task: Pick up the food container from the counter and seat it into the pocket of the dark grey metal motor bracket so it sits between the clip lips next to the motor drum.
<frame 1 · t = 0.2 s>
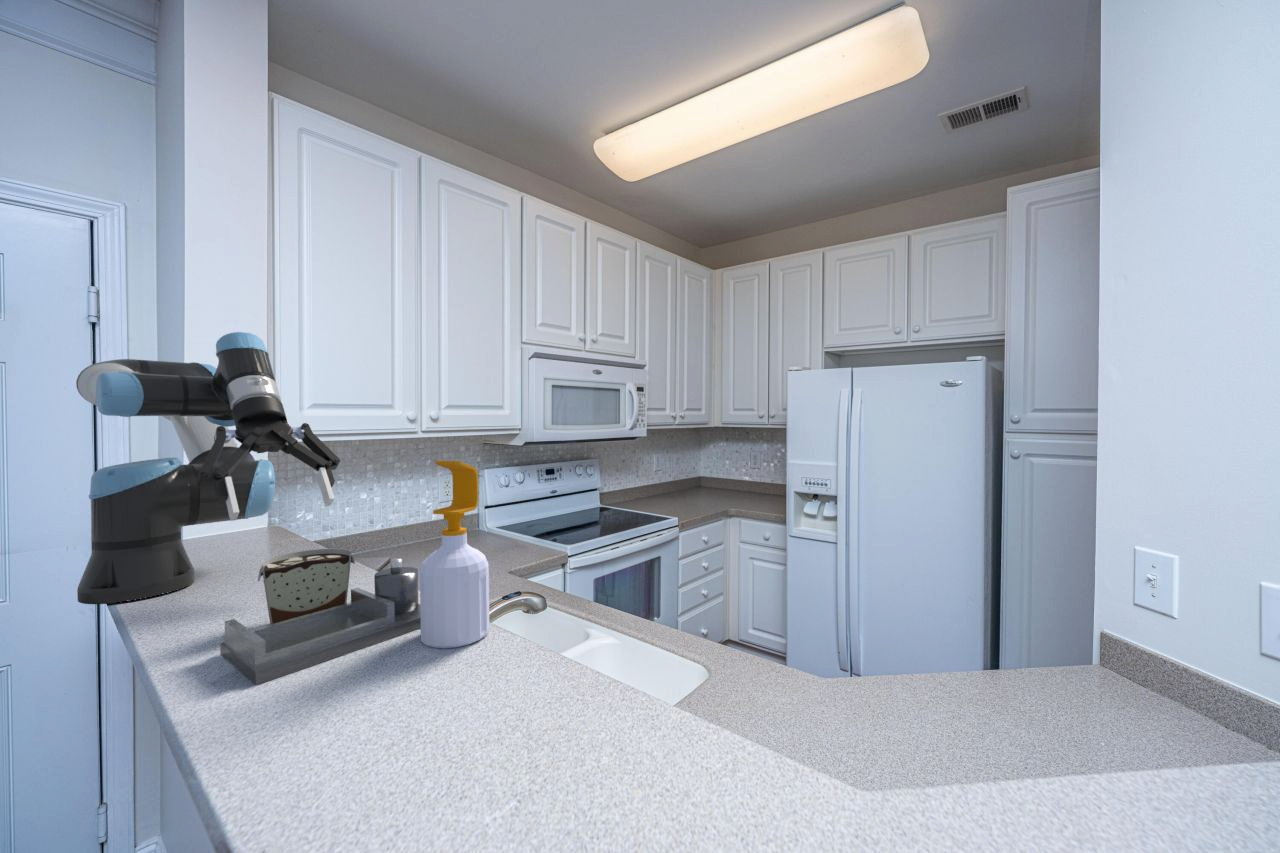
hand: (285, 509, 87), 16 cm above the counter, tool tilted 35°, fingers open, 13 cm apart
soap bottle: (455, 637, 73), on the counter
motor bracket: (314, 644, 70), on the counter
food container: (305, 620, 79), on the counter
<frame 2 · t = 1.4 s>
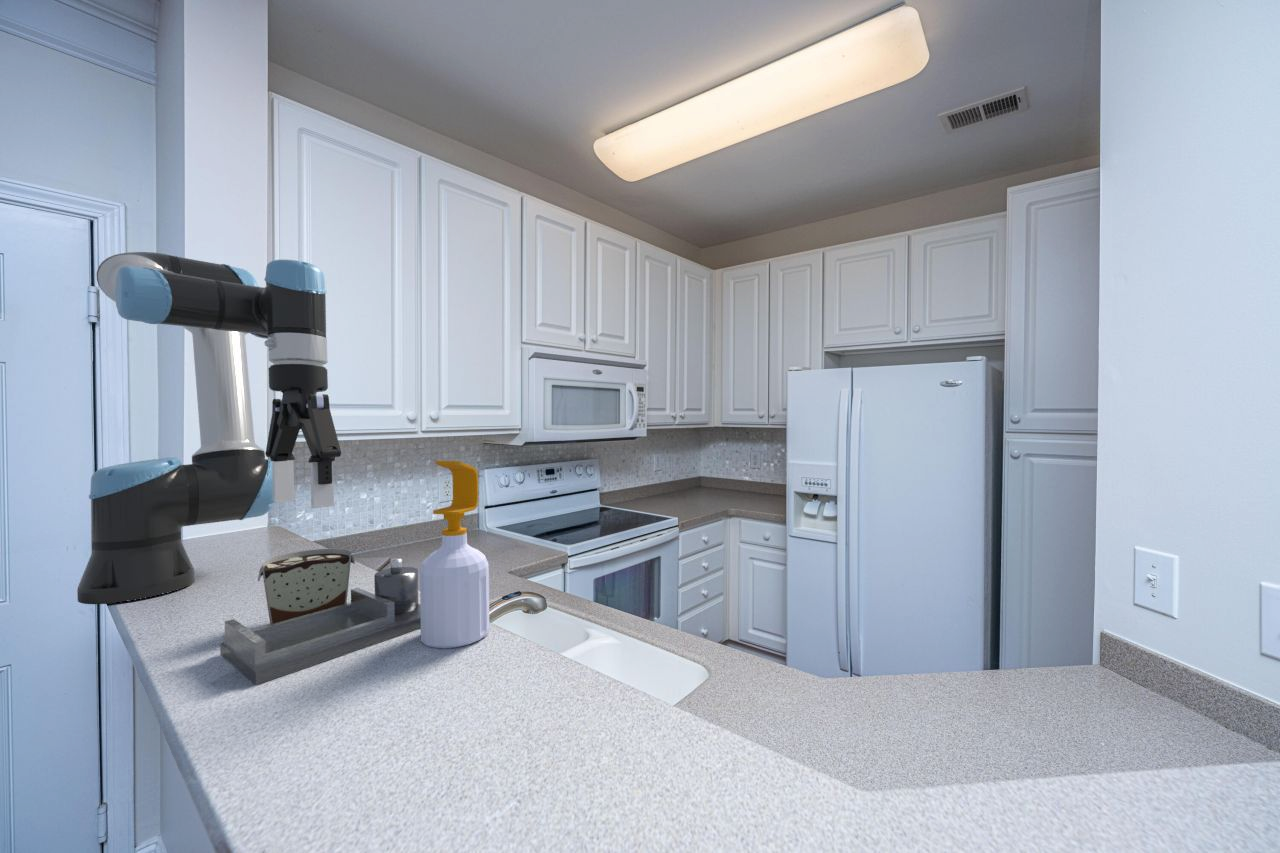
hand: (302, 504, 79), 17 cm above the counter, tool pointing down, fingers open, 13 cm apart
nothing on the counter moved.
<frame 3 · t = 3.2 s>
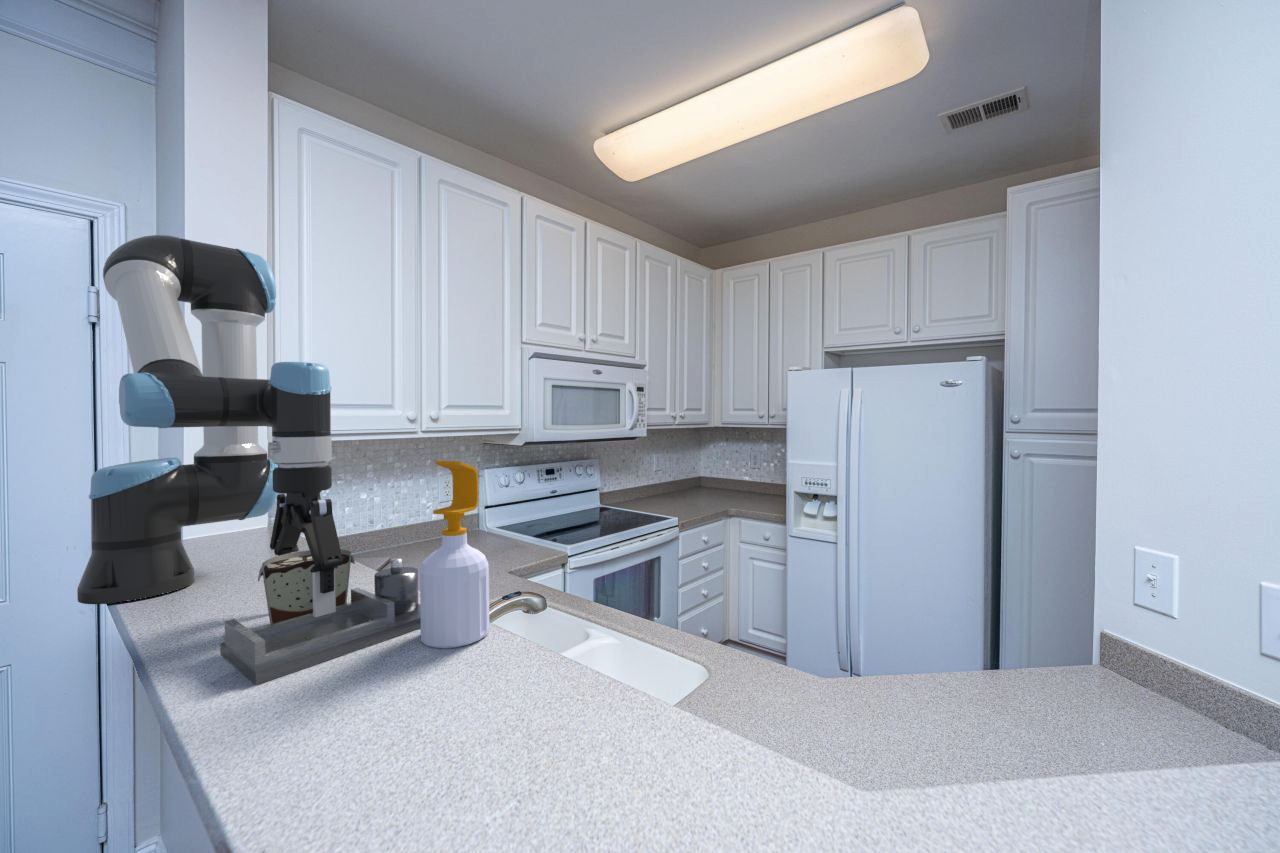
hand: (305, 604, 79), 2 cm above the counter, tool pointing down, fingers open, 13 cm apart
nothing on the counter moved.
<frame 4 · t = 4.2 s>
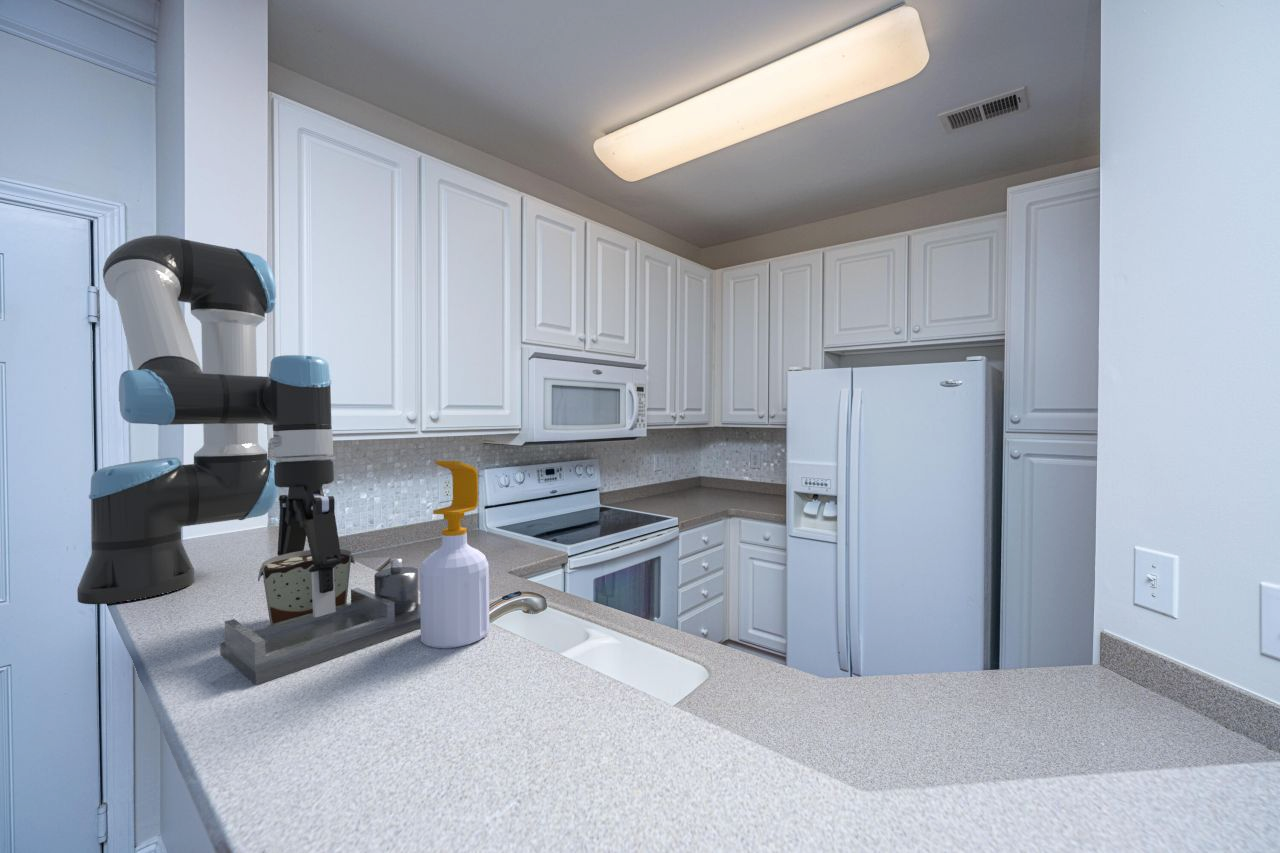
hand: (310, 608, 78), 2 cm above the counter, tool pointing down, fingers open, 9 cm apart
food container: (305, 620, 79), on the counter, touching gripper
everything else where it was.
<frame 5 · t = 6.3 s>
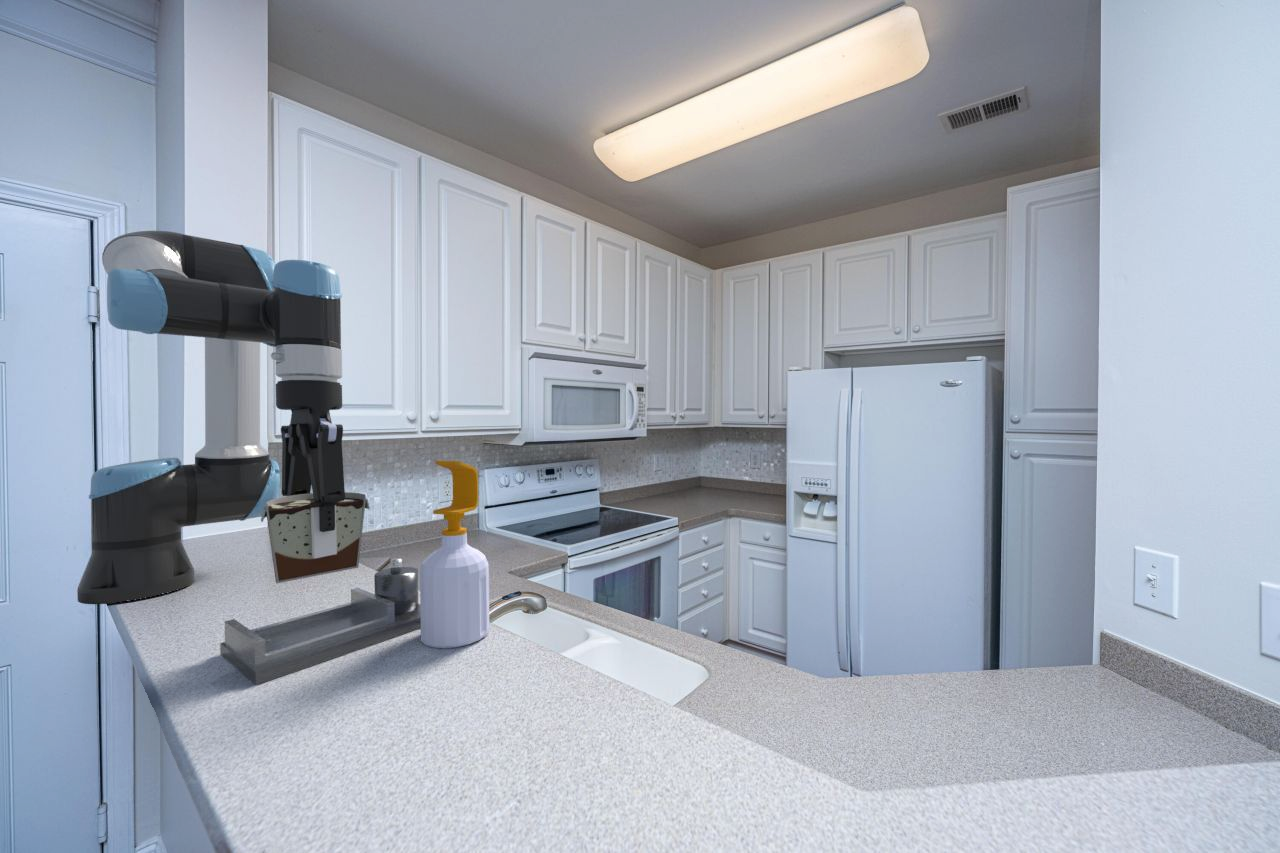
hand: (313, 551, 70), 13 cm above the counter, tool pointing down, fingers closed on food container, 6 cm apart
food container: (313, 571, 70), point 10 cm above the counter, touching gripper
everything else where it was.
when the fingers open (4 cm above the counter, at t = 7.8 s): food container stays where it is, resting on motor bracket.
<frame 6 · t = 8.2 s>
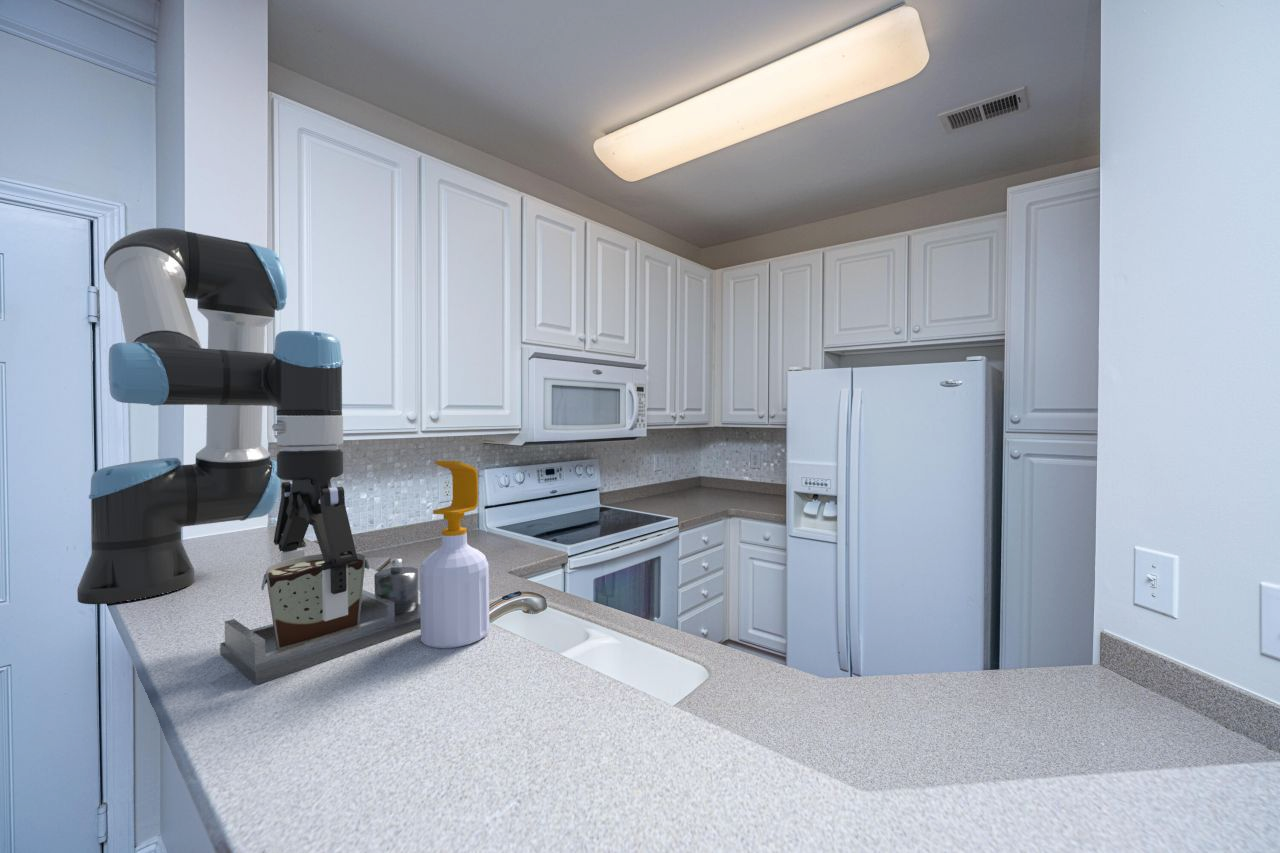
hand: (313, 606, 70), 5 cm above the counter, tool pointing down, fingers open, 13 cm apart
food container: (313, 633, 70), point 1 cm above the counter, touching motor bracket
everything else where it was.
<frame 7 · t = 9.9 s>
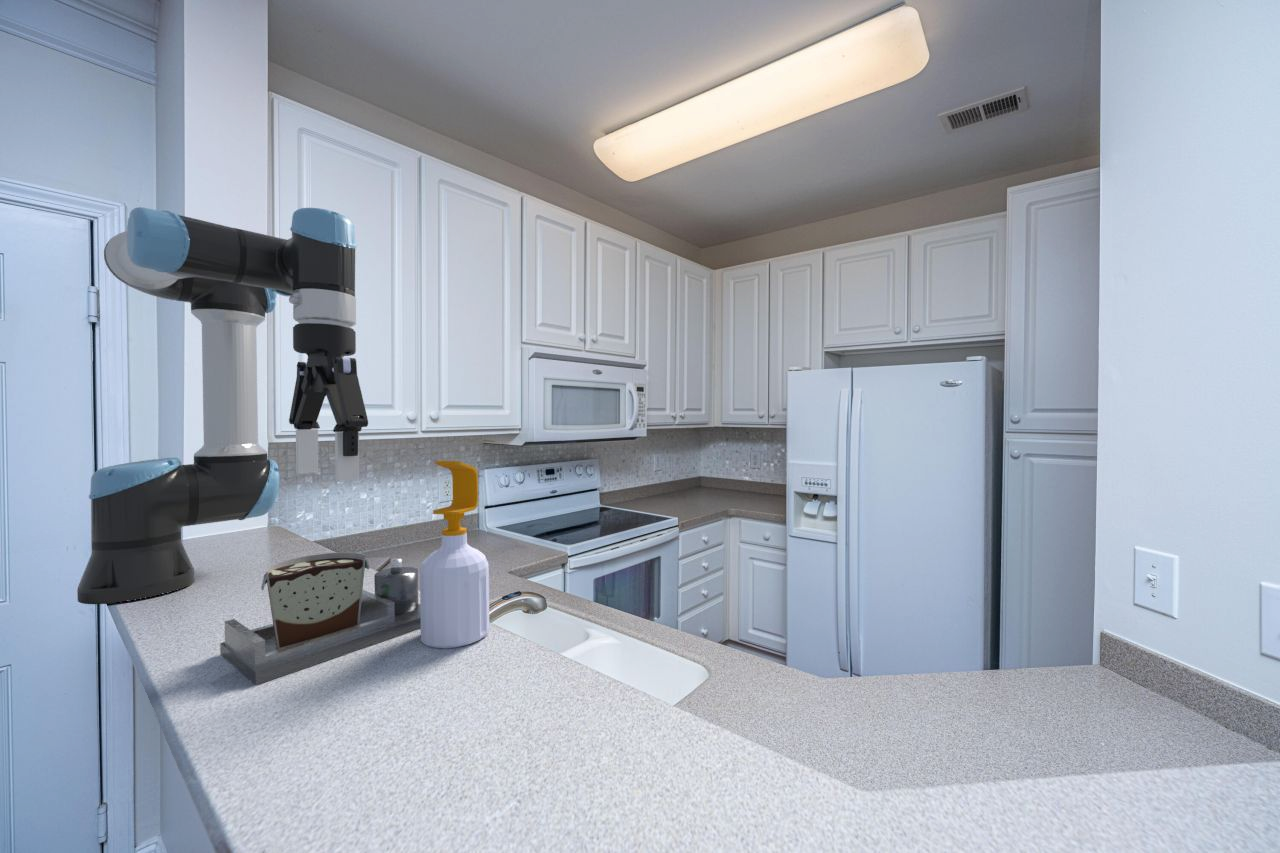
hand: (326, 477, 73), 22 cm above the counter, tool pointing down, fingers open, 13 cm apart
nothing on the counter moved.
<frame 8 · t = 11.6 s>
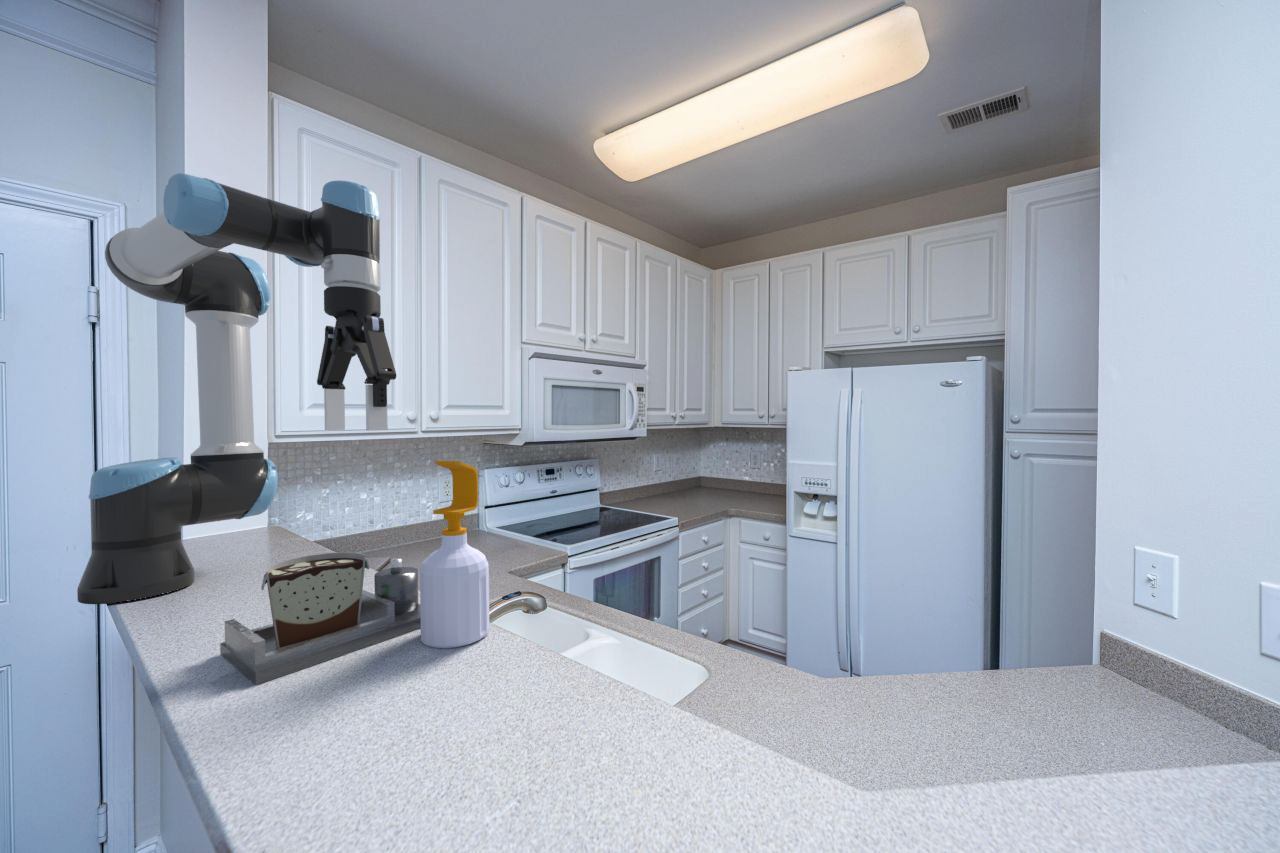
hand: (354, 430, 79), 29 cm above the counter, tool pointing down, fingers open, 13 cm apart
nothing on the counter moved.
at the end: food container 0.4 cm off-centre on the motor bracket, point 1.3 cm above the motor bracket's base; food container tilted 0°; the gripper is holding nothing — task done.
